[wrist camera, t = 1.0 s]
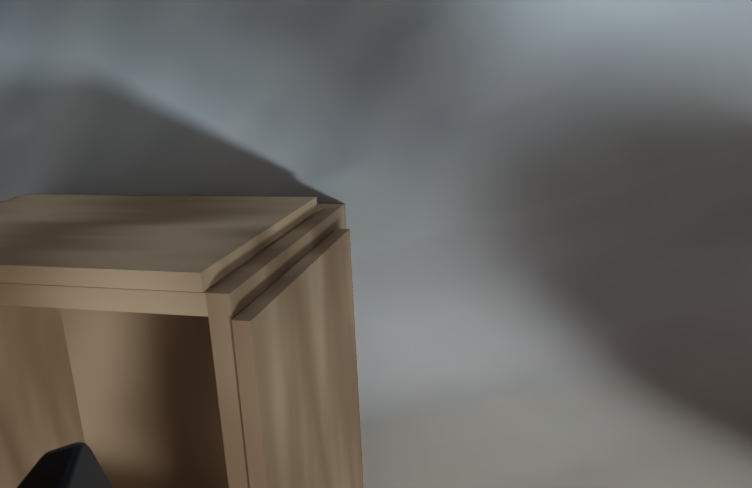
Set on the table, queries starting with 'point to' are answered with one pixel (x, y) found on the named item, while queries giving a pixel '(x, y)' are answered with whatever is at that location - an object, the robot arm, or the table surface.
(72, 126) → the table surface
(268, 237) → the carton
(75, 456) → the robot arm
